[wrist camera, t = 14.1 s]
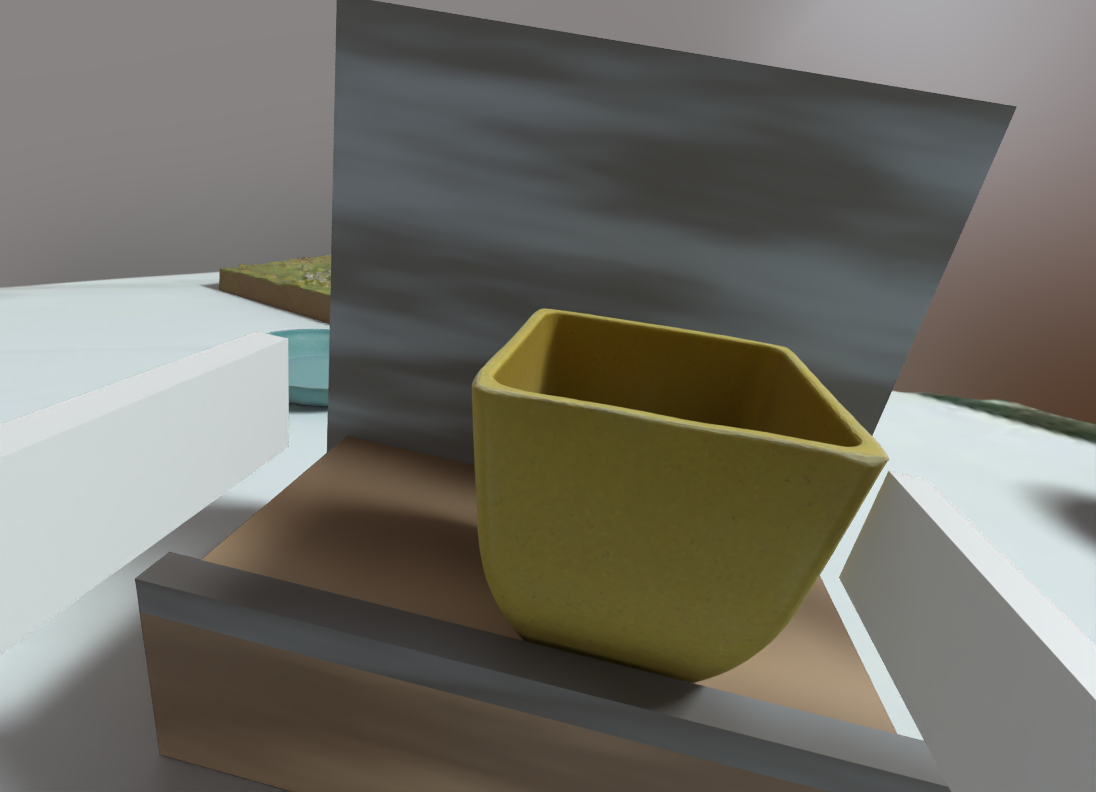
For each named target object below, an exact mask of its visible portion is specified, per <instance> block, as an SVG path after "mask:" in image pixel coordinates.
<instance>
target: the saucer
mask: <svg viewBox="0 0 1096 792" xmlns="http://www.w3.org/2000/svg"><path fill="white" fill-rule="evenodd" d="M266 334H270V335H275V336H279V337H284V338H288V381H289V402H290V403H295V404H301V405H309V406H328V383H329V337H330V330H329V329H297V330H285V331H276V332H270V333H266Z"/></svg>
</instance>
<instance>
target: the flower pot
mask: <svg viewBox="0 0 1096 792" xmlns="http://www.w3.org/2000/svg"><path fill="white" fill-rule="evenodd" d="M472 410H473V439H474V461H475V483H476V505H477V528H478V538H479V548H480V555H481V560H482V565H483V569H484V573H485V577H486V580H487V583H488V585H489V588H490V590H491V593H492V595H493V597H494V599H495V601H496V604H497V605H498V607H499V609H500V610H501V612H502V614H503V616H504V617H505V619H506V620H507V621H508V622H509V624H510V625H511V626H512V628H513V629H514V630H515V631H516V632H517V634H518V635H519V636H520V637H521V638H522V639H523V640H524V641H527V642H531V643H535V644H539V645H543V646H547V647H551V648H555V649H559V650H563V651H567V652H571V653H575V654H579V655H583V656H587V657H591V658H595V659H599V660H603V661H607V662H611V663H615V664H619V665H623V666H627V667H631V668H635V669H639V670H643V671H647V672H651V673H655V674H659V675H663V676H667V677H671V678H675V679H679V680H683V681H687V682H691V683H696V682H699V681H703V680H706V679H709V678H712V677H715V676H717V675H720V674H723V673H725V672H727V671H729V670H731V669H733V668H735V667H737V666H739V665H740V664H742V663H744V662H746V661H747V660H749V659H750V658H752V657H753V656H754V655H756V654H757V653H758V652H760V651H761V650H762V649H764V648H765V647H766V646H767V645H769V644H770V643H771V642H772V641H773V640H774V639H775V638H776V637H777V636H778V635H779V634H780V632H781V631H782V630H783V629H784V628H785V627H786V626H787V624H788V623H789V622H790V620H791V619H792V618H793V617H794V615H795V614H796V613H797V611H798V609H799V608H800V606H801V605H802V603H803V602H804V600H805V598H806V597H807V595H808V594H809V592H810V590H811V589H812V587H813V585H814V584H815V582H816V580H817V579H818V577H819V575H820V574H821V572H822V571H823V569H824V567H825V566H826V564H827V562H828V561H829V559H830V557H831V556H832V554H833V552H834V551H835V549H836V547H837V546H838V544H839V542H840V540H841V539H842V537H843V535H844V534H845V532H846V530H847V529H848V527H849V525H850V524H851V522H852V520H853V518H854V517H855V515H856V513H857V512H858V510H859V508H860V506H861V505H862V503H863V501H864V500H865V498H866V496H867V495H868V493H869V491H870V489H871V488H872V486H873V484H874V483H875V481H876V479H877V477H878V476H879V474H880V472H881V471H882V469H883V467H884V466H885V464H886V463H887V461H888V460H889V457H888V456H887V454H886V452H885V451H884V450H883V448H882V447H881V446H880V444H879V443H878V442H877V441H876V440H875V439H874V437H873V436H871V435H870V434H869V433H868V432H867V431H866V429H865V428H863V427H862V426H861V425H860V424H859V423H858V421H857V420H856V419H855V418H854V417H853V416H852V415H851V414H850V413H849V412H848V411H847V410H846V409H845V408H844V407H843V406H842V405H841V404H840V403H839V402H838V401H837V399H836V398H835V397H834V396H833V395H832V394H831V393H830V392H829V391H828V390H827V389H826V388H825V386H824V385H823V384H822V383H821V382H820V381H819V380H818V378H817V377H816V376H815V375H814V374H813V373H812V372H811V371H810V370H809V369H808V368H807V367H806V365H805V364H804V363H803V362H802V361H801V360H800V359H799V358H798V357H797V356H796V355H795V354H794V353H793V352H792V351H791V350H790V349H788V348H787V347H783V346H778V345H773V344H768V343H763V342H757V341H752V340H746V339H741V338H736V337H731V336H725V335H718V334H712V333H706V332H700V331H694V330H687V329H681V328H676V327H669V326H662V325H655V324H648V323H642V322H636V321H629V320H623V319H616V318H610V317H603V316H597V315H591V314H584V313H577V312H569V311H562V310H554V309H545V308H543V309H539V310H538V311H536V312H535V313H534V314H533V315H532V316H531V317H530V318H529V319H528V320H527V322H526V323H525V324H524V325H523V326H522V327H521V328H520V329H519V331H518V332H517V333H516V334H515V335H514V336H513V337H512V338H511V339H510V340H509V341H508V342H507V343H506V344H505V345H504V346H503V347H502V348H501V349H500V350H499V351H498V352H497V353H496V354H495V355H494V356H493V357H492V358H491V359H490V360H489V361H488V362H487V363H486V364H485V366H483V367H482V368H481V369H480V370H479V372H478V373H477V375H476V377H475V378H474V380H473V383H472Z"/></svg>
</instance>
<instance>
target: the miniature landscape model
mask: <svg viewBox="0 0 1096 792" xmlns="http://www.w3.org/2000/svg"><path fill="white" fill-rule="evenodd" d="M219 290H222V291H226V292H229V293H232V294H235V295H239V296H242V297H245V298H248V299H252V300H255V301H258V302H262V303H265V304H268V305H272V306H275V307H278V308H281V309H285V310H288V311H291V312H295V313H298V314H301V315H305V316H308V317H311V318H315V319H318V320H321V321H324V322H328V323H330V291H331V255H328V256H324V255H323V256H319V257H315V258H310V257H308V258H305V257H304V258H301V259H300V258H298V259H294V260H290V259H289V260H285V261H282V262H270V263H267V264H258V265H245V264H240V265H239V267H231V268H220V281H219Z"/></svg>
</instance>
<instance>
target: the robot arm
mask: <svg viewBox="0 0 1096 792" xmlns="http://www.w3.org/2000/svg"><path fill="white" fill-rule="evenodd" d="M288 447H289V381H288V338H284V337H279V336H275V335H270V334H266V333H261V332H254V333H251V334H248V335H245V336H243V337H240V338H237V339H234V340H232V341H229V342H226V343H223V344H220V345H218V346H215V347H212V348H209V349H207V350H204V351H201V352H198V353H195V354H193V355H190V356H187V357H184V358H182V359H179V360H176V361H173V362H171V363H168V364H165V365H162V366H159V367H157V368H154V369H151V370H148V371H146V372H143V373H140V374H137V375H134V376H132V377H129V378H126V379H123V380H121V381H118V382H115V383H112V384H110V385H107V386H104V387H101V388H98V389H96V390H93V391H90V392H87V393H85V394H82V395H79V396H76V397H73V398H71V399H68V400H65V401H62V402H60V403H57V404H54V405H51V406H49V407H46V408H43V409H40V410H37V411H35V412H32V413H29V414H26V415H24V416H21V417H18V418H15V419H12V420H10V421H7V422H4V423H1V424H0V655H2V654H3V653H5V652H6V651H7V650H9V649H10V648H12V647H13V646H14V645H16V644H17V643H18V642H20V641H21V640H23V639H24V638H25V637H27V636H28V635H29V634H31V633H32V632H34V631H35V630H36V629H38V628H39V627H41V626H42V625H43V624H45V623H46V622H47V621H49V620H50V619H52V618H53V617H54V616H56V615H57V614H58V613H60V612H61V611H63V610H64V609H65V608H67V607H68V606H70V605H71V604H72V603H74V602H75V601H76V600H78V599H79V598H81V597H82V596H83V595H85V594H86V593H88V592H89V591H90V590H92V589H93V588H94V587H96V586H97V585H99V584H100V583H101V582H103V581H104V580H105V579H107V578H108V577H110V576H111V575H112V574H114V573H115V572H117V571H118V570H119V569H121V568H122V567H123V566H125V565H126V564H128V563H129V562H130V561H132V560H133V559H134V558H136V557H137V556H139V555H140V554H141V553H143V552H144V551H146V550H147V549H148V548H150V547H151V546H152V545H154V544H155V543H157V542H158V541H159V540H161V539H162V538H163V537H165V536H166V535H168V534H169V533H170V532H172V531H173V530H175V529H176V528H177V527H179V526H180V525H181V524H183V523H184V522H186V521H187V520H188V519H190V518H191V517H193V516H194V515H195V514H197V513H198V512H199V511H201V510H202V509H204V508H205V507H206V506H208V505H209V504H210V503H212V502H213V501H215V500H216V499H217V498H219V497H220V496H222V495H223V494H224V493H226V492H227V491H228V490H230V489H231V488H233V487H234V486H235V485H237V484H238V483H239V482H241V481H242V480H244V479H245V478H246V477H248V476H249V475H251V474H252V473H253V472H255V471H256V470H257V469H259V468H260V467H262V466H263V465H264V464H266V463H267V462H269V461H270V460H271V459H273V458H274V457H275V456H277V455H278V454H280V453H281V452H282V451H284V450H285V449H286V448H288ZM839 578H840V580H841V582H842V584H843V586H844V588H845V590H846V592H847V594H848V596H849V597H850V599H851V601H852V603H853V605H854V607H855V609H856V611H857V613H858V615H859V617H860V619H861V620H862V622H863V624H864V626H865V628H866V630H867V632H868V634H869V636H870V638H871V640H872V642H873V643H874V645H875V647H876V649H877V651H878V653H879V655H880V657H881V659H882V661H883V663H884V664H885V666H886V668H887V670H888V672H889V674H890V676H891V678H892V680H893V682H894V684H895V686H896V687H897V689H898V691H899V693H900V695H901V697H902V699H903V701H904V703H905V705H906V707H907V708H908V710H909V712H910V714H911V716H912V718H913V720H914V722H915V724H916V726H917V728H918V730H919V731H920V733H921V735H922V737H923V739H924V741H925V743H926V745H927V747H928V749H929V751H930V752H931V754H932V756H933V758H934V760H935V762H936V764H937V766H938V768H939V770H940V772H941V774H942V775H943V777H944V779H945V781H946V783H947V785H948V787H949V789H950V791H951V792H1096V645H1095V644H1094V643H1093V642H1092V641H1091V640H1089V639H1088V638H1087V637H1086V636H1085V635H1084V634H1083V633H1082V632H1081V631H1080V630H1079V629H1078V628H1077V627H1076V626H1075V625H1074V624H1073V623H1072V622H1071V621H1070V620H1069V619H1068V618H1067V617H1066V616H1065V615H1064V614H1063V613H1062V612H1061V611H1060V610H1059V609H1058V608H1057V607H1056V606H1055V605H1054V604H1053V603H1052V602H1051V601H1050V600H1049V599H1048V598H1047V597H1046V596H1045V595H1044V594H1043V593H1042V592H1041V591H1040V590H1039V589H1038V588H1037V587H1036V586H1035V585H1034V584H1033V583H1032V582H1031V581H1030V580H1029V579H1028V578H1027V577H1026V576H1025V575H1024V574H1023V573H1022V572H1021V571H1020V570H1019V569H1018V568H1017V567H1016V566H1015V565H1014V564H1013V563H1012V562H1011V561H1010V560H1009V559H1008V558H1007V557H1006V556H1005V555H1003V554H1002V553H1001V552H1000V551H999V550H998V549H997V548H996V547H995V546H994V545H993V544H992V543H991V542H990V541H989V540H988V539H987V538H986V537H985V536H984V535H983V534H982V533H981V532H980V531H979V530H978V529H977V528H976V527H975V526H974V525H973V524H972V523H971V522H970V521H969V520H968V519H967V518H966V517H965V516H964V515H963V514H962V513H961V512H960V511H959V510H958V509H957V508H956V507H955V506H954V505H953V504H952V503H951V502H950V501H949V500H948V499H947V498H946V497H945V496H944V495H943V494H942V493H941V492H940V491H939V490H938V489H937V488H936V487H935V486H934V485H933V484H932V483H931V482H930V481H929V480H928V479H924V478H919V477H915V476H910V475H906V474H901V473H896V472H892V471H888V473H887V476H886V478H885V480H884V482H883V484H882V486H881V489H880V491H879V493H878V495H877V497H876V499H875V501H874V504H873V506H872V508H871V510H870V512H869V514H868V516H867V519H866V521H865V523H864V525H863V527H862V529H861V532H860V534H859V536H858V538H857V540H856V542H855V544H854V547H853V549H852V551H851V553H850V555H849V557H848V559H847V562H846V564H845V566H844V568H843V570H842V572H841V574H840V577H839Z"/></svg>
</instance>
